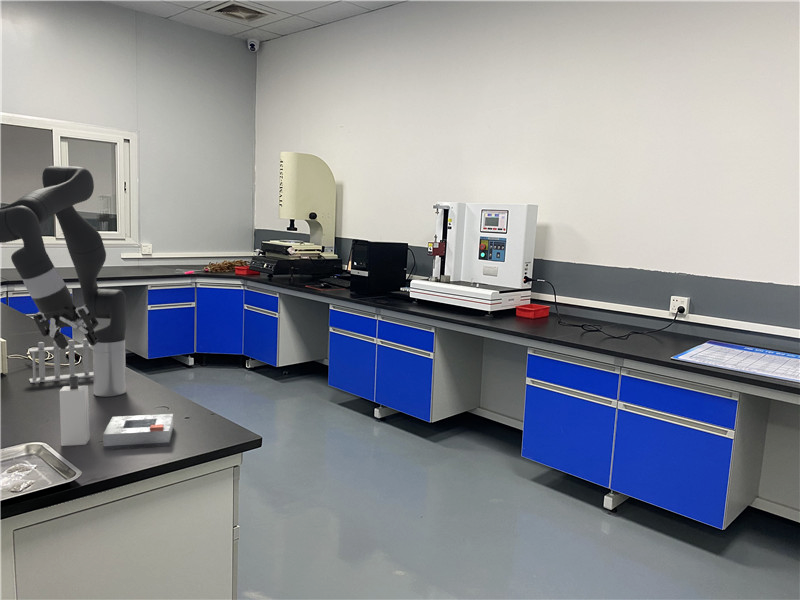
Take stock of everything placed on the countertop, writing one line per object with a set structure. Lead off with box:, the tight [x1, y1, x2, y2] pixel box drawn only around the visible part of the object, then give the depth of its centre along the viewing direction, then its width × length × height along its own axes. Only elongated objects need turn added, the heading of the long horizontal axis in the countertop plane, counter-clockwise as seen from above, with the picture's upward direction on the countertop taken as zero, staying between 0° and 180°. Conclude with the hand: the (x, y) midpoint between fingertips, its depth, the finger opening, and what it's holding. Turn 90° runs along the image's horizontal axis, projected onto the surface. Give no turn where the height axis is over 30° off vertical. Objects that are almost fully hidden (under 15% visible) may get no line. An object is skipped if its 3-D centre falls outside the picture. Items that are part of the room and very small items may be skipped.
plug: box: [59, 376, 90, 447], centre depth 148 cm, size 4×6×17 cm
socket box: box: [102, 413, 174, 451], centre depth 153 cm, size 13×15×5 cm
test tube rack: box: [27, 338, 93, 384], centre depth 203 cm, size 25×4×13 cm, turn 127°
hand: (79, 345), depth 146 cm, fingers open, 8 cm apart
